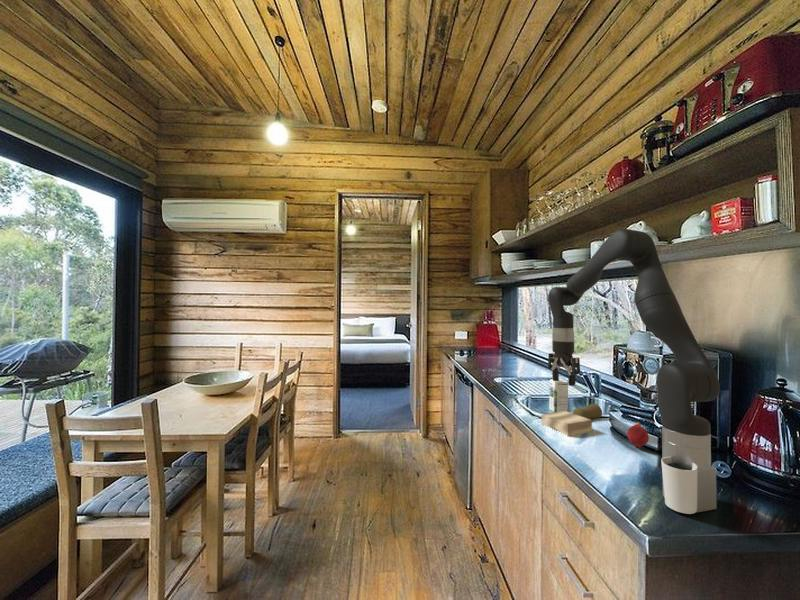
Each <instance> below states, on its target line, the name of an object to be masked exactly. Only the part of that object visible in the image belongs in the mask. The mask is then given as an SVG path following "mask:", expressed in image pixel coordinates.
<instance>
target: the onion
mask: <svg viewBox="0 0 800 600" xmlns="http://www.w3.org/2000/svg"><path fill="white" fill-rule="evenodd" d="M626 433H627V434H626V436H627V439H628V441H629V442H630V443H631V444H632V445H633V446H635V447H636V448H642V447H643V446H645V445H646V444H647V443H649V439H650V438H649V433H648V431H647V430H646V429H645V428H644V427H643V426H641V422H635V424H634V425H632V426H630V427H629V428H628V429H627V432H626Z"/></svg>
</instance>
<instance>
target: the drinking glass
mask: <svg viewBox="0 0 800 600" xmlns="http://www.w3.org/2000/svg"><path fill="white" fill-rule="evenodd" d="M660 462H661V470H662V474H663V476H662V485H663V484H664V495H665V497H664V504H665V505H666V506H667V507H668V508H670V509H671V510H673V511H675V512H677V513H681V514H687V515H692V514H695V513H698V512H697V470H698V468H697V465H696V464H694V463H692V469H693V470H692V469H690V468H685V467H681V466H680V465H679V464H677V463H674V464H672V463H671V457H664V458H661V459H660ZM662 474H661V475H662Z"/></svg>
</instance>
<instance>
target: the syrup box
mask: <svg viewBox="0 0 800 600" xmlns="http://www.w3.org/2000/svg"><path fill="white" fill-rule="evenodd" d="M548 398H549V403H548V404H549V408H548V411H550V413H554V412H561V411H566V412H569V381H565V380H563V379H560V378H559V380H558V381H553V378H551V379H549V397H548Z"/></svg>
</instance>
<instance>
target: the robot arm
mask: <svg viewBox="0 0 800 600" xmlns="http://www.w3.org/2000/svg"><path fill="white" fill-rule="evenodd" d="M617 260H620V261H625V262H626V261H627V262H630V263H631V264H632V266H633V268H634V270H635V272H636V275H637V285H636V287H635V291H634V300H633V301H634V304H635V307H636V309H637V312H638V315H639V317H640V319H641V321H642V323H643V325H644V326H645V327H646V328H647V329H648V330H649V331H650V332H651V333H652V334H654V335H655V336H656V337H657V338H658V339H659V340H660V341H662V342H663V343H664V344H665V345H666V346H667V347H668V349H669V350H670V351H671V353H672V354H673V355H674V358H675V359H676V363H675V362H671V363H670V362H669V363H665V364H663V365H662V366H660V368H659V369H658V371H657V374H656V375H657V376H656V392H657V402H658V403H657V404H658V405H657V408H658V412H659V416H660V418H661V424H662V425H661V430H662V431H661V448H662V449H661V450H662V451H661V452H662V453H661V454H662V455H661V456H662V458H664V457H671V463H672V464H674V463H677V464H679V465H680V466H681V467H685V468H690V469H692V463H694V464H696V465H697V468H698V470H697V512H696V513H701V512H707V511H712V510H717V469H716V467H714V466H712V451H711V450H712V449H711V448H712V447H711V446H712V443H711V441H712V435H711V434H712V433H711V431H712V430H711V429H712V428H711V423H710V421H709V420H708V419H706V418H705V417H701V416H700V415H696V414H694V413H693V410H692V409H693V408H692V405H691V403H695V402H696V403H699V402H701V403H702V402H703V403H705V402H711V401H715V400H716V399H717V398H718V397H719V395H720V393H721V392H720V391H721V384H720V381H719V377H718V375H717V372H716V371H715V369H714V367H713V366H712V364H711V363H710V361H709V359H708V357H707V356H706V354H705V353H704V351H703V349H702V348H701V346H700V345H699V343H698V341H697V339H696V337H695V335H694V334H693V331H692V329H691V327H690V326H689V323H688V321H687V320H686V317H685V316H684V313H683V310H682V308H681V306H680V304H679V303H680V302H679V301H678V299H677V297H676V294H675V293H674V291H673V289H672V287H671V286H670V282H669V281H668V278H667V276H666V274H665V271H664V269H663V267H662V264H661V261H660V257H659V255H658V251H657V248H656V245H655V242H654V240H653V238H652V236H651V235H650V234H649V233H647V232H644V231H641V230H635V229H629V228H620V229H616V230H615V231H613V233H612V234H611V235H609V236H608V238H606V239H605V241H604V242H603V243H602V245H601V246H600V247H599V248H598V249H597V251H596V252H595V253H594V254H593V255H592V256H591V258H590V259H589V260H588V262H586V263H585V265H583V267H582V268H580V269H579V270H578V271H577V272H575V273H574V274H573V275H572V276H570V278H568V280H567V282H566V286H564V287H563V286H554V287H552V288H550V290H549V291H548V295H547V300H548V304H549V308H550V311H551V315H552V333H551V337H552V339H551V340H552V348H551V349H552V352H553V353H548V359H547V360H548V361H547V368H548V369H550V370H551V372H552V374H551V375H552V378H551V379H553V381H558V380H559V379H560V372H559V371H560V368H561V367H562V368H563V369H565V370H566V371H567V374H568V386H570V387H573V386H576V375H580V374H581V365H580V364H581V362H580V358H579V357H574V356H573V354H574V353H575V331H574V315H573V313H571V312H568V311H566V310H565V306H567V307H568V306H569V307H570V306H574V305H575V304H578V302H579V301H580V300H581V298H582V297H583V296H584V294H585V293H586V292H587V291H589V290H590V289H592V287H594V286H595V285H596V284H597V283H598V282H599V281H600V279H601V277H602V273H603V271H604V269H605V267H606V266H607V265H609V264H611V263H612V262H614V261H617ZM662 458H661V459H662ZM692 470H693V469H692ZM661 475H662V477H663V474H661ZM662 496H663V497H664V498H665V495H664V484H663V483H662Z"/></svg>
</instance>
